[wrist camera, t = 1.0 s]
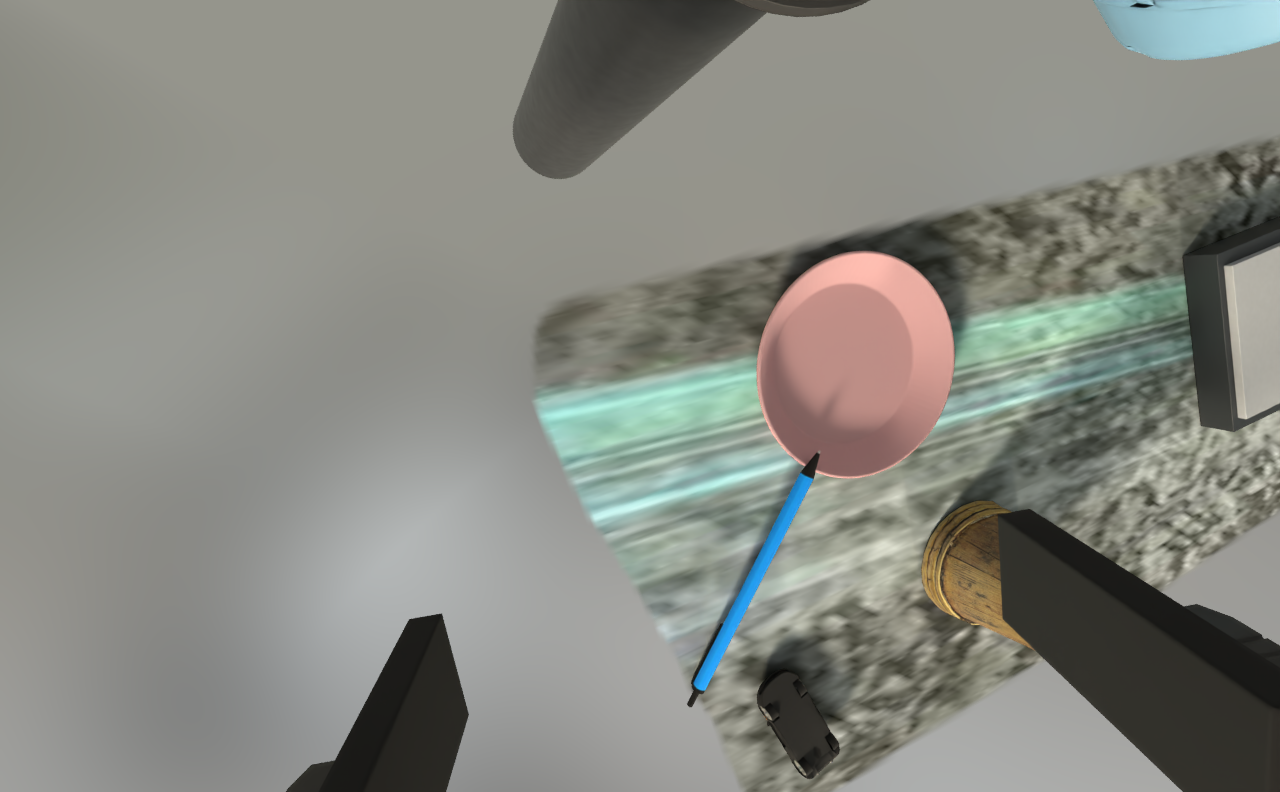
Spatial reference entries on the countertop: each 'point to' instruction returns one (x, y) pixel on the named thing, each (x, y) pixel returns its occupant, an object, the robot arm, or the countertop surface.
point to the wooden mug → (968, 567)
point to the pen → (752, 581)
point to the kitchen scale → (1236, 326)
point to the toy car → (797, 722)
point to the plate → (855, 364)
